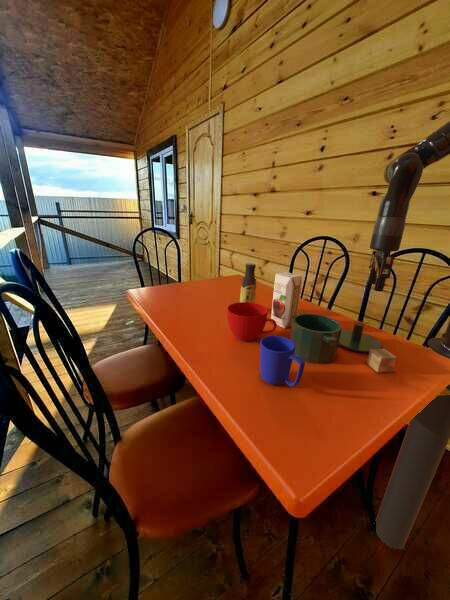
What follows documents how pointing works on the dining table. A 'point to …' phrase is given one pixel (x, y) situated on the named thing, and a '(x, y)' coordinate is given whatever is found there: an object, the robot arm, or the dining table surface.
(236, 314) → the ceramic cup
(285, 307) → the juice carton
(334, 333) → the pot
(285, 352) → the mug
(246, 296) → the sauce bottle
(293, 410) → the dining table surface
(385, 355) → the block
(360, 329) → the lid
